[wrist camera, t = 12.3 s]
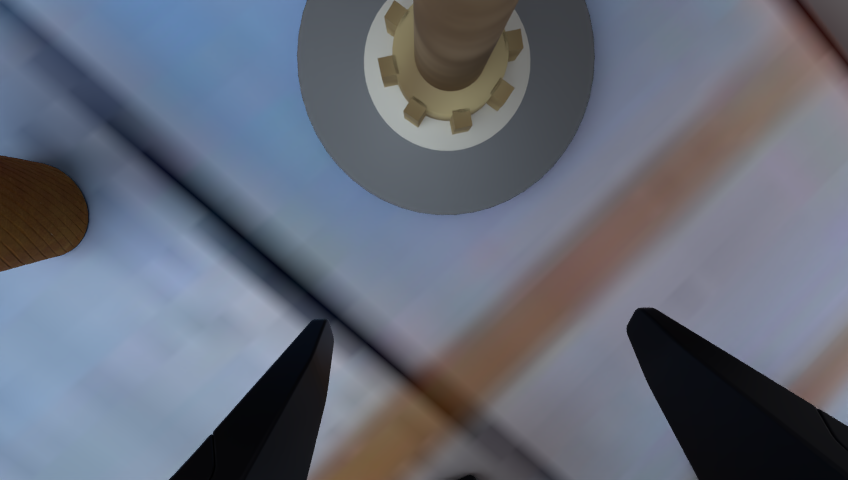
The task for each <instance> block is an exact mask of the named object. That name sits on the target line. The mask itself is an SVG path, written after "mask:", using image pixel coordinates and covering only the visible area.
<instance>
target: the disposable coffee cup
mask: <svg viewBox="0 0 848 480" xmlns="http://www.w3.org/2000/svg"><path fill="white" fill-rule="evenodd" d="M87 225H88V210H87V204H86V202H85V199H84V197H83V194H82V193H81V191H80V190H79V188H78V186H77V185H76V184H75V183H74V181H73V180H72V179H71V178H69V177H68V176H67V175H66V174H65V173H63V172H62V171H60V170H59V169H57V168H55V167H52V166H49V165H46V164H43V163H38V162H32V161H28V160H22V159H17V158H12V157H6V156H1V155H0V272H1V271H4V270H8V269H12V268H16V267H19V266H23V265H25V264H26V265H27V264H30V263H34V262H37V261H41V260H45V259H48V258H52V257H57V256H60V255H63V254H65V253H67V252H69V251H71V250H72V249H74V248H75V247H76V246H77V245H78V244H79V243H80V241H81V240H82V239H83V237H84V234H85V232H86V229H87Z"/></svg>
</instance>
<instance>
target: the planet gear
mask: <svg viewBox="0 0 848 480" xmlns="http://www.w3.org/2000/svg"><path fill="white" fill-rule="evenodd" d="M518 1H519V0H413V4H412V5H411V6H410V7H409V9H408V10H407V9H406V8H405V7H403V6H402V5H400V4H399V3H398V2H396V1H395V0H394V1H393V3H392V5H391V6H390V8H389V10H388V11H387V13H386V15H385V16H384V18H385V24H386V29H387V33H389V34H390V35H391V36H393V37H394V39H393V47H392V55H391V56H386V57H381V58H378V63H379V68H380V73H381V77H382V81H383V84H384V87H389V86H394V85H398V86H399V88H400V91H401V92H402V94H403V96H404V97H405V99H406V100H407V101H408V104H407V106H406V108H405V109H404V111H403V112H404V118H405V119H406V120H408V121H409V122H411V123H412V124H413V125H415V126H416V127H419V126H420V124H421V122H422V121H423V119H424V118H425V116H427V117H430V118H432V119H436V120H442V121H450V126H451V131H452V135H453V134H458V133H463V132H468V131H469V130H470V128H471V127H472V126H473V125H472V119H471V115H472V114H474V113H475V112H477V111H478V110H480V109H481V108H482V107H483V106H484V105H485V104H488V105H489V106H490V107H492V108H493V109H495V110H496V111H498V110H499V109H500V108H501V107H502V106H503V105H504V104H505V102H506V101H507V99H508V98H509V96H510V95H511V93H512V92H513V90H514V89H515V88H514V87H513V86H511V85H510V84H509V83H507V82H506V81H505V80H503V77H504V75H505V72H506V68H507V64H508V62H510V61H515V59H516V58H517V56H518V55H519V54H520V52H521V51H522V49H523V48H524V47H523V41H522V34H521V29H516V30H511V31H505V26H506V24H507V22H508V20H509V18H510V16H511V15H512V13H513V11H514V9H515V7H516V5H517V3H518Z"/></svg>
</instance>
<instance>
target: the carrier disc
mask: <svg viewBox="0 0 848 480" xmlns="http://www.w3.org/2000/svg"><path fill="white" fill-rule="evenodd" d="M393 1H394V0H307V2H306V5H305V8H304V11H303V15H302V20H301V25H300V30H299V37H298V51H297V60H298V77H299V82H300V88H301V94H302V98H303V101H304V104H305V108H306V111H307V114H308V117H309V119H310V121H311V124H312V126H313V128H314V130H315V132H316V135H317V136H318V138H319V139H320V141H321V143H322V144H323V146H324V148H325V149H326V151H327V152H328V154H329V155H330V156H331V157H332V159H333V160H334V161H335V162H336V164H337V165H338V166H339V167H340V168H341V169H342V170H343V171H344V172H345V173H346V174H347V175H348V176H349V177H350V178H351V179H352V180H353V181H355V182H356V183H357V184H359V185H360V186H361V187H363V188H364V189H365V190H367V191H368V192H370V193H371V194H373V195H375V196H377V197H378V198H380V199H382V200H384V201H386V202H388V203H391V204H393V205H396V206H398V207H401V208H404V209H408V210H412V211H415V212H419V213H427V214H435V215H457V214H465V213H472V212H476V211H480V210H484V209H487V208H491V207H494V206H496V205H498V204H501V203H503V202H506V201H508V200H510V199H511V198H513V197H515V196H517V195H518V194H520V193H522V192H524V191H525V190H526V189H528V188H529V187H530V186H532V185H533V184H534V183H536V182H537V181H538V180H540V179H541V178H542V177H543V176H544V175H545V174H546V173H547V172H548V171H549V170H550V169H551V168H552V167H553V166H554V164H555V163H556V162H557V161H558V159H559V158H560V157H561V156H562V154H563V153H564V152H565V150H566V149H567V147H568V145H569V144H570V142H571V141H572V139H573V137H574V136H575V134H576V132H577V129H578V127H579V125H580V123H581V121H582V118H583V116H584V113H585V110H586V107H587V104H588V100H589V97H590V92H591V86H592V81H593V73H594V57H595V56H594V39H593V31H592V26H591V20H590V15H589V12H588V9H587V6H586V2H585V0H519V1H518V3H517V5H516V7H515V9H514V11H513V13H512V15H511V16H510V18H509V20H508V22H507V24H506V26H505V31H511V30H516V29H521V34H522V41H523V47H524V48H523V49H522V51H521V52H520V54H519V55H518V56H517V58H516V59H515V61H510V62H508V64H507V68H506V72H505V75H504V77H503V80H505V81H506V82H507V83H509V84H510V85H511V86H513V87H514V88H515V89H514V90H513V92H512V93H511V95H510V96H509V98H508V99H507V101H506V102H505V104H504V105H503V106H502V107H501V108H500V109H499V110H498V111H496V110H495V109H493V108H492V107H490V106H489V105H488V104H485V105H484V106H483V107H482V108H481V109H480V110H478V111H477V112H475V113H474V114H472V115H471V119H472V125H473V126H472V127H471V128H470V130H469V131H468V132H463V133H458V134H453V135H452V131H451V126H450V121H442V120H436V119H432V118H430V117H427V116H425V118H424V119H423V121H422V122H421V124H420V126H419V127H416V126H415V125H413V124H412V123H411V122H409V121H408V120H406V119H405V118H404V112H403V111H404V109H405V108H406V106H407V104H408V101H407V100H406V99H405V97H404V96H403V94H402V92H401V91H400V88H399V86H398V85H394V86H389V87H384V84H383V81H382V77H381V73H380V68H379V63H378V58H381V57H386V56H391V55H392V47H393V39H394V37H393V36H391V35H390V34H389V33H387V29H386V24H385V18H384V16H385V15H386V13H387V11H388V10H389V8H390V6H391V5H392V3H393ZM395 1H396V2H398V3H399V4H400V5H402V6H403V7H405V8H406V9H407V10H408V9H409V7H410V6H411V5H412V4H413V0H395Z"/></svg>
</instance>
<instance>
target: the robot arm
mask: <svg viewBox="0 0 848 480" xmlns="http://www.w3.org/2000/svg"><path fill="white" fill-rule="evenodd" d="M627 335H628V337H629V340H630V342H631V344H632V347H633V349H634V352H635V354H636V356H637V359H638V361H639V364H640V366H641V369H642V371H643V373H644V376H645V378H646V380H647V383H648V385H649V387H650V389H651V391H652V393H653V395H654V396H655V398H656V400H657V402H658V404H659V406H660V408H661V410H662V411H663V413H664V415H665V417H666V419H667V421H668V423H669V425H670V427H671V428H672V430H673V432H674V434H675V436H676V438H677V440H678V442H679V443H680V445H681V447H682V449H683V451H684V453H685V455H686V457H687V459H688V460H689V462H690V464H691V466H692V468H693V470H694V472H695V474H696V475H697V477H698V479H699V480H848V426H846V425H845V424H843V423H841V422H840V421H838V420H836V419H835V418H833V417H832V416H830V415H828V414H827V413H825V412H823V411H822V410H820V409H816V407H815V406H813V405H812V404H810V403H809V402H807V401H805V400H804V399H802V398H800V397H799V396H797V395H795V394H794V393H792V392H791V391H789V390H787V389H786V388H784V387H782V386H781V385H779V384H777V383H776V382H774V381H773V380H771V379H769V378H768V377H766V376H764V375H763V374H761V373H759V372H758V371H756V370H755V369H753V368H751V367H750V366H748V365H746V364H745V363H743V362H741V361H740V360H738V359H737V358H735V357H733V356H732V355H730V354H728V353H727V352H725V351H724V350H722V349H720V348H719V347H717V346H715V345H714V344H712V343H710V342H709V341H707V340H706V339H704V338H702V337H701V336H699V335H697V334H696V333H694V332H692V331H691V330H689V329H688V328H686V327H684V326H683V325H681V324H679V323H678V322H676V321H674V320H673V319H671V318H670V317H668V316H666V315H665V314H663V313H661V312H660V311H658V310H656V309H654V308H638V309H636V310H635V312H634V314H633V316H632V317H631V319H630V321H629V323H628V325H627ZM333 345H334V338H333V334H332V330H331V326H330V323H329V320H328V319H314V320H312V321H311V322H310V323H309V324H308V325H307V327H306V328H305V329H304V330H303V331H302V332H301V333H300V334H299V336H298V337H297V338H296V339H295V340H294V341H293V342H292V343H291V345H290V346H289V347H288V348H287V349H286V350H285V351H284V352H283V354H282V355H281V356H280V357H279V358H278V359H277V360H276V361H275V363H274V364H273V365H272V366H271V367H270V368H269V369H268V370H267V372H266V373H265V374H264V375H263V376H262V377H261V378H260V379H259V381H258V382H257V383H256V384H255V385H254V386H253V387H252V388H251V390H250V391H249V392H248V393H247V394H246V395H245V396H244V397H243V399H242V400H241V401H240V402H239V403H238V404H237V405H236V406H235V408H234V409H233V410H232V411H231V412H230V413H229V414H228V415H227V417H226V418H225V419H224V420H223V421H222V422H221V423H220V424H219V426H218V427H217V428H216V429H215V430H214V431H213V434H211V435H210V436H209V437H208V438H207V439H206V440H205V441H204V442H203V443H202V445H201V446H200V447H199V448H198V449H197V450H196V451H195V452H194V453H193V455H192V456H191V457H190V458H189V459H188V460H187V461H186V462H185V463H184V464H183V465H182V466H181V468H180V469H179V470H178V471H177V472H176V473H175V474H174V475H173V476H172V477H171V478H170V479H169V480H307V476H308V472H309V468H310V464H311V460H312V456H313V452H314V447H315V443H316V439H317V435H318V431H319V427H320V423H321V419H322V415H323V410H324V406H325V402H326V397H327V391H328V383H329V376H330V368H331V360H332V353H333ZM459 480H476V478H475V477H474V476H472V475H468V476H466V477H463V478H461V479H459Z"/></svg>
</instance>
